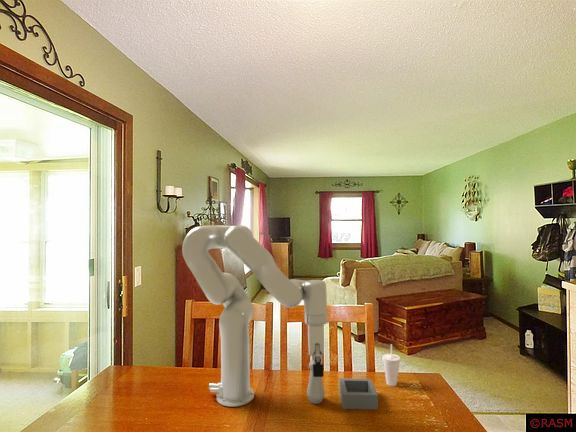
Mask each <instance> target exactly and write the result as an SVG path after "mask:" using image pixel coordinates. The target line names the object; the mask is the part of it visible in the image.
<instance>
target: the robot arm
mask: <svg viewBox="0 0 576 432" xmlns="http://www.w3.org/2000/svg"><path fill="white" fill-rule="evenodd" d="M213 249H226V250H227V249H228V250H229V251H230V252H231V253H232V254H233V255H234V256H236V257H237V258H238V260H240V261H241V262H242V263H243V264H244V265H245V266H246V267H247V268H248V269H249V270H250V271H251V272H252V273H253V275H254V276H255V278H256V279H257V280H258V281H259V282H260V284H261V285H262V286H263V288H265V290H266V291H267V292H268V293H269V294H270V295H271V296H272V297H273V298H274V299H275V300H276V301H277V302H278V303H280V305H282V306H284V307H286V308H290V309H291V308H292V309H293V308H295V307H298V306H299V305H300V304H301V302H302V301H303V309H304V310H303V311H304V324H305V325H307V339H308V340H307V342H308V343H307V344H308V356H309V357H312V359H311V360H314V364H313V376H314V377H321V378H322V377H324V363H323V357H324V356H325V325H327V324H328V302H327V285H326V284H327V283H326V282H325V280H321V279H310V280H305V279H304V280H303V279H302V280H301V279H298V278H297V279H295V278H291V279H290V278H288V277H287V276H286V275H285V274H284V273H283V272H282V271H281V270H280V268H279V267H278V265H277V263H276V261H275V259H274V257H273V255H272V254H271V252H269V250H267V249H266V248H265V246H264V245H262V244H261V243H260V242H259V241H258V240H257V239H256V238H255V237H254V234H253V232H252V230H251V229H250V228H249V227H247V226H246V225H211V224H210V225H199V226H196V227H194V228H192V229H191V230H189V232H188V233H187V234H186V235H185V237H184V239H183V242H182V248H181V250H182V251H181V253H182V256H183V259H184V260H183V261H185V264H186V266H187V267H188V269H189V270H190V271H191V272H190V273H192V275H193V276H194V279H195V280H196V282H197V283H198V286H199V287H200V289H201V290H202V292H203V294H204V295H205V297H206V298H207V300H208V301H209V302H210V303H211V304H213V305H215V306H216V305H218V306H219V305H223V307H224V308H223V310H222V312H221V314H220V315H219V320H218V327H219V334H220V382H218V383H215V382H213V383H212V382H211V383H210V382H209V385H208V390H209V391H210V393H216V401H217V403H218V404H219V405H222V406H225V407H229V408H230V407H231V408H232V407H233V408H234V407H241V406H244V405H247V404H249V403H250V402H252V401H253V399H254V397H255V391H254V389H253V388H252V387H250V386H251V385H250V381H251V380H250V372H251V371H250V335H249V324H250V321H251V320H252V318H253V316H254V313H255V308H254V304H253V302H252V301H251V300H252V299H250V297H249V296H248V294H247V292H246V291H245V289H244V287H243V286H242V284H241V283H240V281H239V280H238V278H236V276H235V275H234V274H231V273H229V272H222V270H221V269H220V267H219V266H218V263H217V262H216V261H215V259H214V258H213V257H212V256H211V254H210V253H209V250H213Z"/></svg>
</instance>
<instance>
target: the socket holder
mask: <svg viewBox="0 0 576 432" xmlns="http://www.w3.org/2000/svg"><path fill="white" fill-rule="evenodd" d="M338 379H339V385H338V386H339V396H340V401H341V406H342V409H343V410H379V394H378V391H377V390H376V387H375V384H374V382H373V380H372V378H371V379H370V378H341V377H340V378H338Z"/></svg>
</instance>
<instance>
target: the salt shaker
mask: <svg viewBox="0 0 576 432" xmlns="http://www.w3.org/2000/svg"><path fill="white" fill-rule="evenodd" d="M313 364H314V360H313V359H311V360H310V361H309V363H308V368H309V371H310V372H309V378H308V383H307V389H306V396H307V399H308V400H309V402H310V403H311V404H316V405H318V404H321V403H323V399H324V397H325V389H324V385H323V378H322V377H314V376H313Z"/></svg>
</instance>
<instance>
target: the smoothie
mask: <svg viewBox="0 0 576 432" xmlns="http://www.w3.org/2000/svg"><path fill="white" fill-rule="evenodd" d="M381 359H382V361H383V368H384V375H385V383H386V385H387V386H390V387H396V386H397V384H398V379H399V377H398V376H399V369H400V363H401V357H400V356H399V355H398V354H394V353H393V344H391V343H390V353H385V354H383V355H382V358H381Z"/></svg>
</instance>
